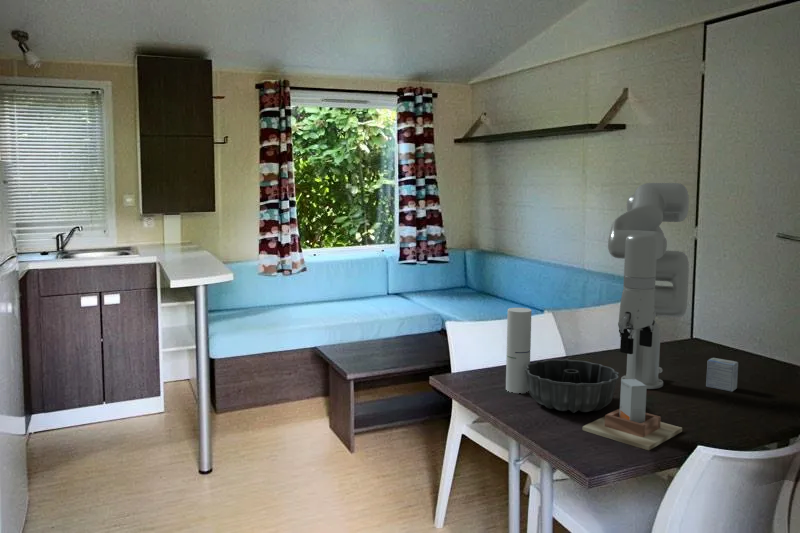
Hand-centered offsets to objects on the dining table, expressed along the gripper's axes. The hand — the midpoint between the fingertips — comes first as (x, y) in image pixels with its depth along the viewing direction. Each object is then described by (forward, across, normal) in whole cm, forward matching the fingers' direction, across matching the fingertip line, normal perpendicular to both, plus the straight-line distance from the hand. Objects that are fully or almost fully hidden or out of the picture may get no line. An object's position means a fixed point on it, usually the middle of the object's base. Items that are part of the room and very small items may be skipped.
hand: (636, 349), depth 173 cm
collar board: (+21, 0, 0) cm, 21 cm away
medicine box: (+22, -54, +1) cm, 58 cm away
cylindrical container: (+22, -6, -41) cm, 47 cm away
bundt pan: (+22, -6, -23) cm, 32 cm away
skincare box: (+21, +1, 0) cm, 21 cm away
